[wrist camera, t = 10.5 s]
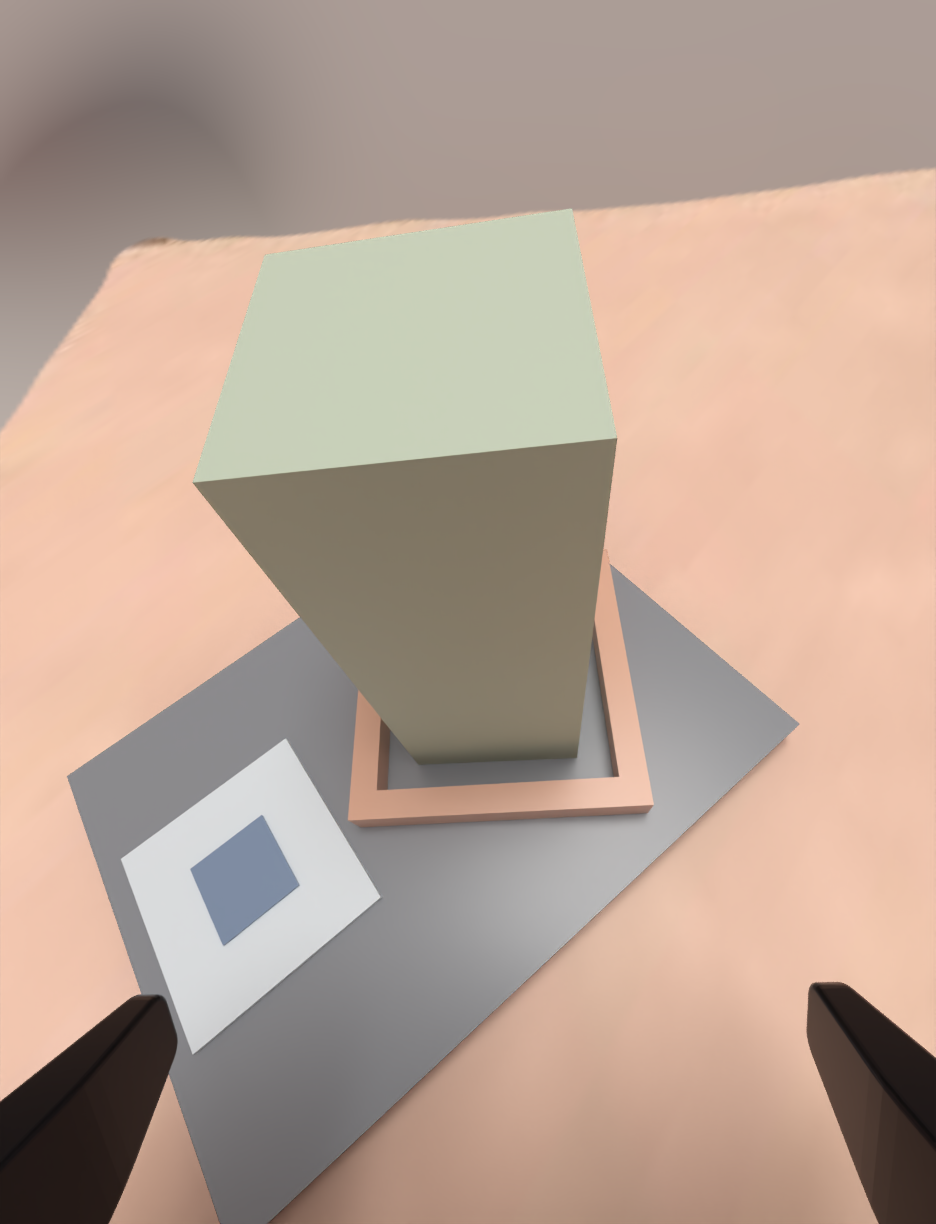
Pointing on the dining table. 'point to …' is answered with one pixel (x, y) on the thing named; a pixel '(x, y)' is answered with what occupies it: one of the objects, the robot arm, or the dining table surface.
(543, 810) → the collar
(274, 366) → the pillar
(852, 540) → the dining table surface
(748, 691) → the baseplate
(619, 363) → the dining table surface
